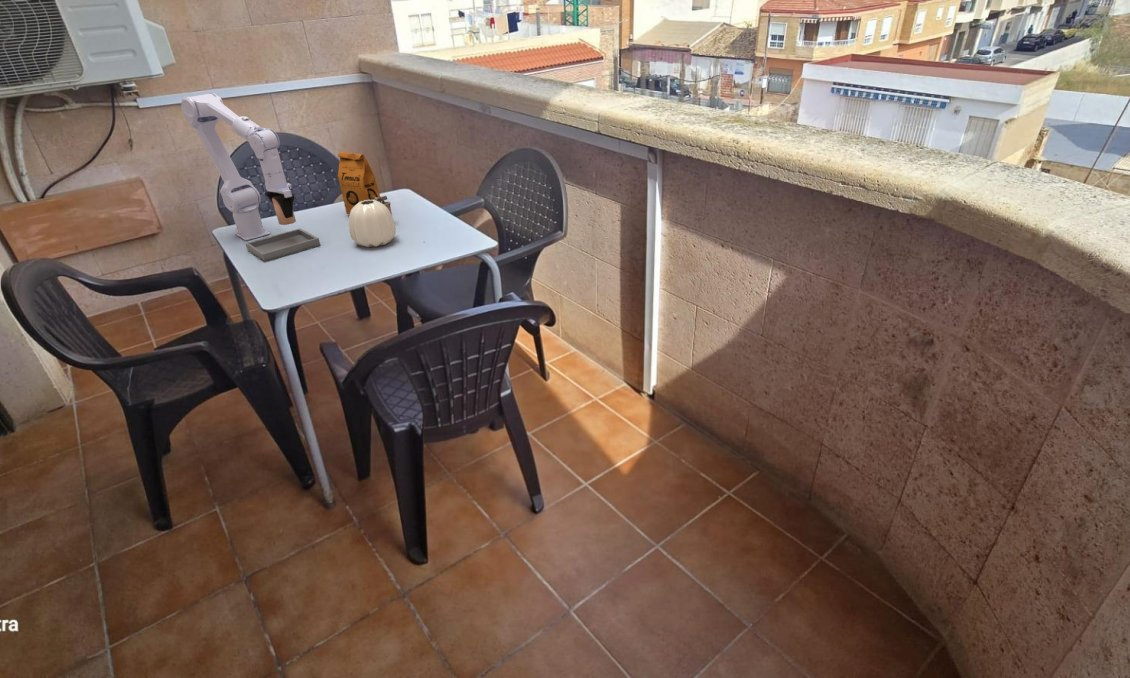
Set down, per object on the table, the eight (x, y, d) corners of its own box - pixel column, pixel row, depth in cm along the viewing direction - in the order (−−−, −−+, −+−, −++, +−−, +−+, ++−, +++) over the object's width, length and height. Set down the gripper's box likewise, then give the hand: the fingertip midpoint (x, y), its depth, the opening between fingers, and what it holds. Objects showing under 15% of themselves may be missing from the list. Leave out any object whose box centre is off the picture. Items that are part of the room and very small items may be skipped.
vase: (385, 252, 178) (377, 210, 171) (344, 249, 181) (335, 208, 174) (404, 236, 190) (397, 196, 183) (366, 233, 192) (358, 194, 186)
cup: (276, 222, 183) (269, 197, 178) (291, 218, 186) (284, 193, 182) (283, 226, 180) (275, 200, 175) (298, 221, 183) (291, 196, 179)
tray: (247, 250, 182) (245, 243, 180) (302, 235, 192) (300, 228, 191) (264, 262, 174) (262, 254, 172) (320, 245, 184) (318, 238, 183)
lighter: (377, 230, 195) (371, 201, 190) (370, 228, 197) (365, 199, 192) (396, 223, 201) (391, 195, 195) (390, 221, 202) (384, 193, 197)
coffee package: (368, 221, 203) (355, 157, 192) (342, 216, 208) (328, 154, 197) (388, 212, 211) (376, 151, 199) (362, 208, 216) (350, 148, 205)
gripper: (296, 173, 173) (308, 217, 180) (276, 165, 181) (288, 207, 188) (272, 178, 168) (285, 223, 175) (253, 170, 177) (266, 212, 184)
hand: (285, 215), depth 181 cm, fingers closed on cup, 5 cm apart
